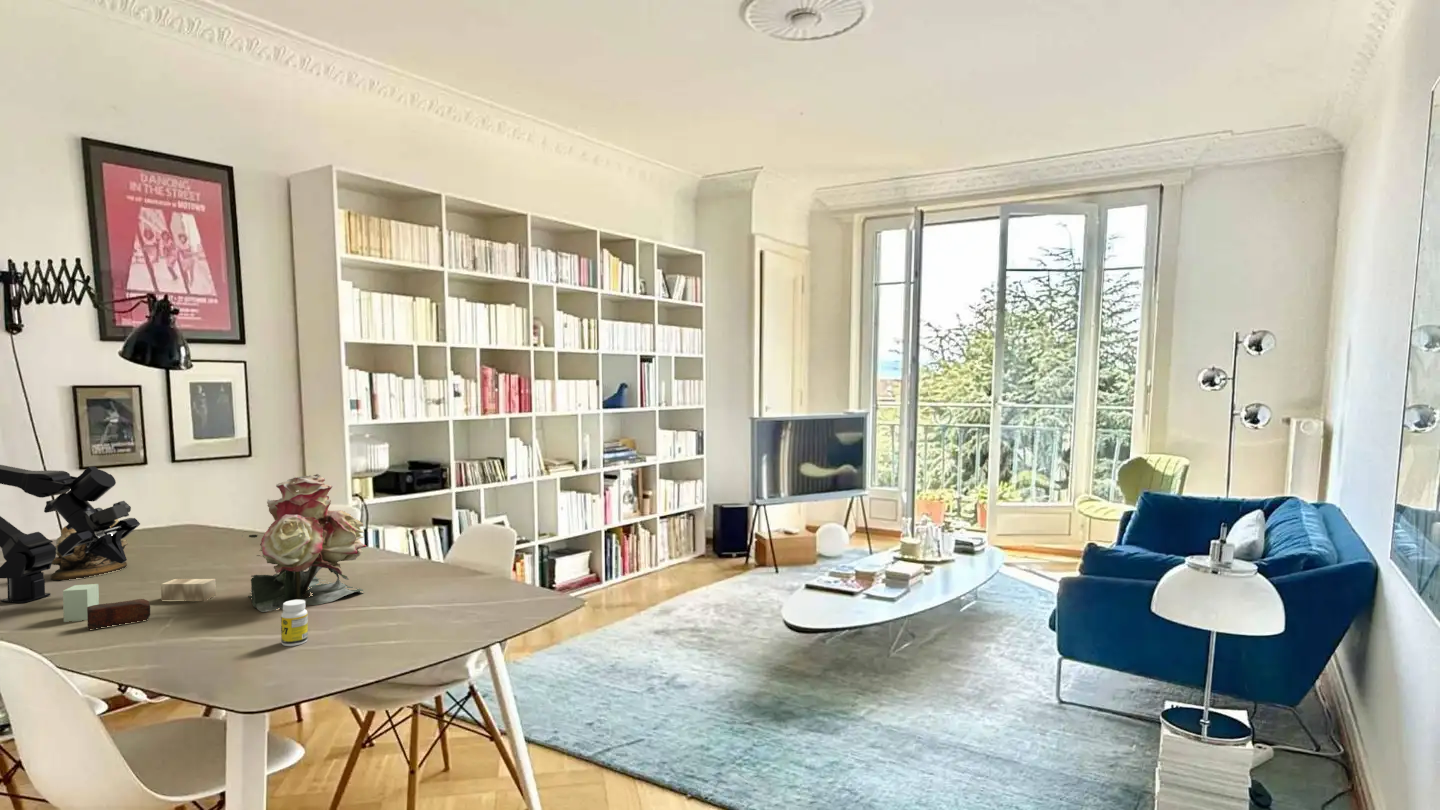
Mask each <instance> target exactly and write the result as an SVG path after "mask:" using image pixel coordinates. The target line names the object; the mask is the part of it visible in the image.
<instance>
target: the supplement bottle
mask: <svg viewBox="0 0 1440 810" xmlns="http://www.w3.org/2000/svg"><path fill="white" fill-rule="evenodd" d="M282 611H283V612H281V614H280V623H281V625H280V626H281V627H280V629H281V630H280V632H281V633H280V634H281V635H280V636H281V637H280V638H281V639H280V641H281V645H283V647H284V646H285V647H295V646H299V645H302V644H305V643H306V642H307V641H309V640H308V639H309V637H308V636H309V633H308V628H309V627H308V626H309V625H308V623H309V621H308V614H309V613H308V610H307V609H306V605H305V601H304V600H300V599H295V600H291V601H287V602H284V603H283V609H282Z"/></svg>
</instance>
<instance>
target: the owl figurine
mask: <svg viewBox="0 0 1440 810" xmlns="http://www.w3.org/2000/svg"><path fill="white" fill-rule="evenodd" d="M115 521H116V522H115V523H114V524H113V525H111V526H110V528H112V527H113V526H114V525H115V524H116V523H118V522H119V521H120V520H119V519H116V520H115ZM66 526H67V525H65V526H64V527H62V529H61V530H60V536H59V537H57V539H56V541H55V542H56V545H54V546H55V547H56V557H55V559H54V560H53V562H52V565H51V566H59V568H58V569H56V570H55V571H54V573H52V574H51V575H50V579H51V580H53V581H56V580H69V579H76V578H84V577H89V576H94V575H99V574H104V573H108V572H112V571H116V570H120V569H122V568H125V567H126V566H127V567H128V563H127V561H125V562H124V563H118V562H116V561H113V560H110V559H107V558H104V557H101V556H98V555H95V554H91V553H85V552H84V551H85V550H86V549H87V548H88V547H87V546H86V545H87V544H82V545H79V546H75V547H74V553H73V554H71V555H67V556H64V557H62V556H61V555H60V553H59V552H58V551H57V545H59V544H60V543H61V542H62V541H63V540H64V539H66V538H67V537H68V536H69V535H70V534H71V533H75V532H76V531H75V530H74V529H70V530H68V529H67V528H66ZM121 544H122V547H123V550H124V549H125V547H126V546H127V545H128V541H127V539H121ZM127 567H126V568H127ZM126 568H125V569H126ZM120 571H121V570H120ZM84 579H85V578H84ZM69 581H70V580H69Z"/></svg>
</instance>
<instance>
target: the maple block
mask: <svg viewBox="0 0 1440 810" xmlns="http://www.w3.org/2000/svg"><path fill="white" fill-rule="evenodd" d="M216 585H217V583H216V578H174V579H171V580H170V579H169V580H168V581H166V582H162V583H161V584H160V590H161V591H160V593H161V598H160V599H161V600H184V601H185V600H186V601H204V602H206V601H208V600H207V599H209V598H211V597H213V598H215V597H216V596H217V595H216V594H217V593H216V592H217V589H216V588H217V587H216ZM214 596H215V597H214ZM211 599H212V598H211ZM205 600H206V601H205ZM209 600H210V599H209Z"/></svg>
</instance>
